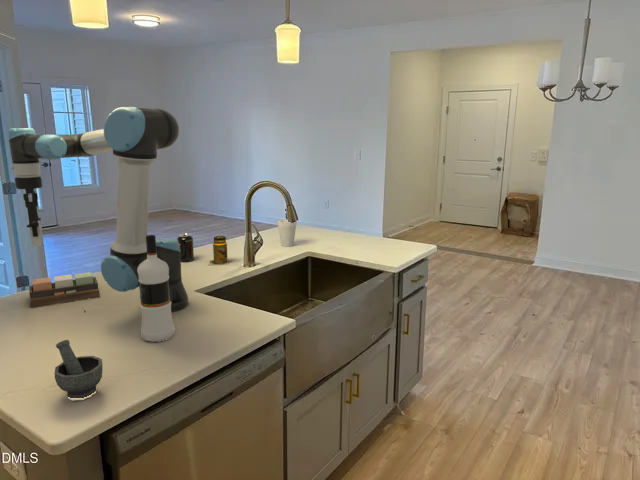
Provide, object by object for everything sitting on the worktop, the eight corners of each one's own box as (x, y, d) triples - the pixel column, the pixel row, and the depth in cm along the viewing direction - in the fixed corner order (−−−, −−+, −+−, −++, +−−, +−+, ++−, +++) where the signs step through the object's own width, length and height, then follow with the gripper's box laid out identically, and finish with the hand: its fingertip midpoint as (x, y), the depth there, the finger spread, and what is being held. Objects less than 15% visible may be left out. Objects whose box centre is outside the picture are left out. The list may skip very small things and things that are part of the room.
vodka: (166, 344, 131) (158, 239, 124) (135, 342, 132) (125, 238, 125) (180, 330, 140) (173, 232, 133) (151, 328, 141) (142, 231, 134)
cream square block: (73, 286, 165) (72, 278, 165) (55, 289, 162) (54, 281, 162) (72, 281, 170) (71, 274, 170) (54, 284, 168) (54, 276, 167)
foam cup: (274, 246, 240) (274, 221, 237) (283, 242, 248) (282, 218, 245) (291, 248, 236) (291, 223, 233) (299, 244, 244) (299, 220, 241)
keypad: (99, 297, 167) (98, 284, 166) (31, 307, 157) (29, 295, 156) (95, 286, 178) (94, 275, 177) (31, 296, 168) (29, 284, 167)
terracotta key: (52, 289, 162) (51, 281, 161) (33, 292, 159) (32, 284, 159) (51, 284, 167) (50, 277, 166) (33, 287, 164) (32, 279, 164)
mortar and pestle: (114, 389, 108) (109, 341, 105) (76, 410, 100) (70, 358, 97) (83, 377, 113) (77, 331, 111) (45, 396, 105) (38, 346, 103)
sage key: (93, 283, 168) (92, 276, 168) (76, 286, 166) (75, 278, 165) (92, 279, 173) (91, 271, 173) (75, 281, 171) (74, 274, 170)
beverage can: (196, 258, 217) (194, 233, 214) (190, 262, 210) (189, 236, 207) (181, 258, 217) (180, 233, 215) (176, 262, 211) (174, 236, 208)
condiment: (228, 264, 208) (226, 238, 205) (208, 265, 206) (207, 238, 204) (228, 260, 215) (227, 234, 212) (209, 260, 214) (208, 235, 211)
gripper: (15, 173, 162) (24, 237, 167) (12, 179, 143) (23, 251, 148) (40, 173, 165) (48, 235, 170) (41, 178, 147) (50, 248, 152)
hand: (36, 242), depth 159 cm, fingers open, 9 cm apart
